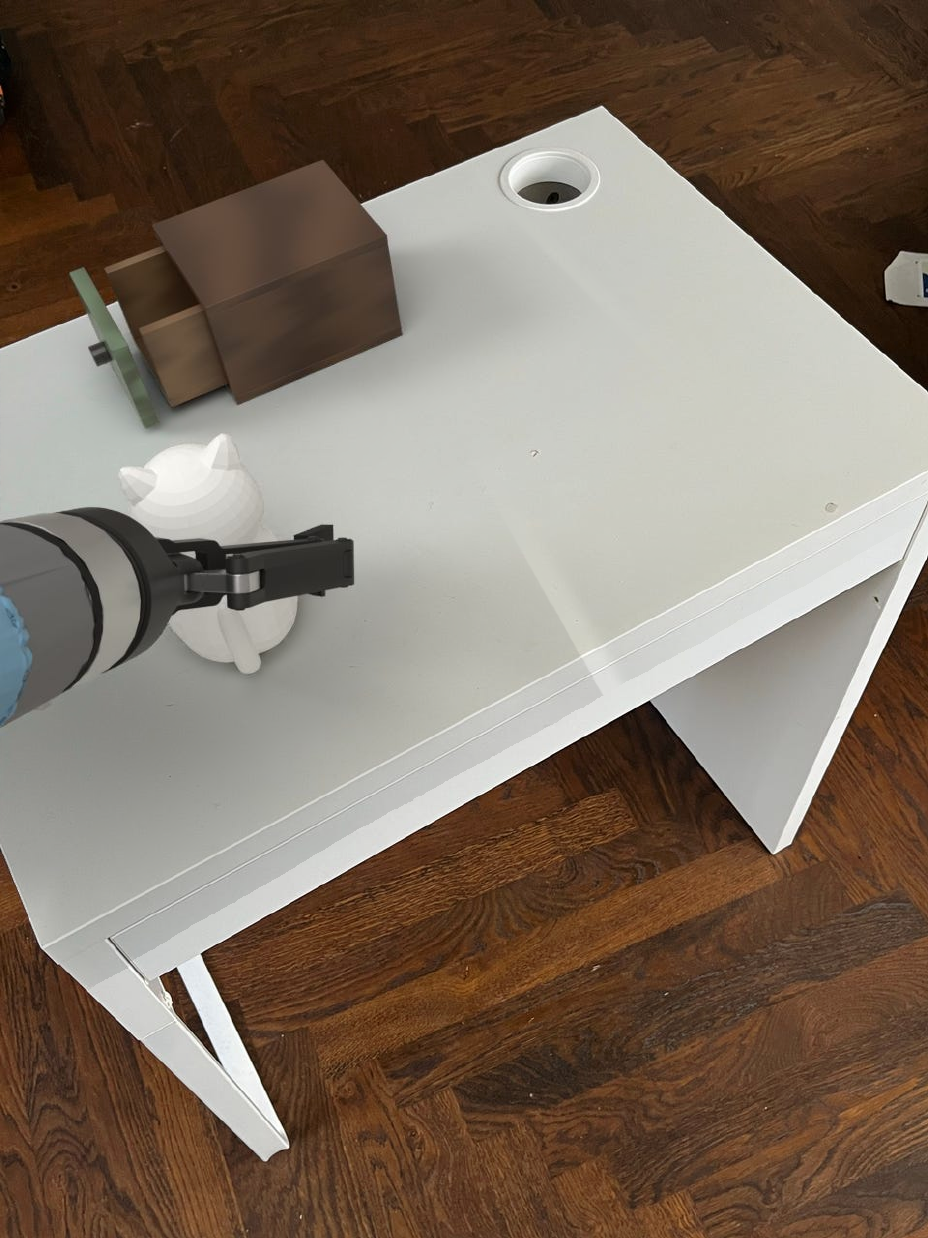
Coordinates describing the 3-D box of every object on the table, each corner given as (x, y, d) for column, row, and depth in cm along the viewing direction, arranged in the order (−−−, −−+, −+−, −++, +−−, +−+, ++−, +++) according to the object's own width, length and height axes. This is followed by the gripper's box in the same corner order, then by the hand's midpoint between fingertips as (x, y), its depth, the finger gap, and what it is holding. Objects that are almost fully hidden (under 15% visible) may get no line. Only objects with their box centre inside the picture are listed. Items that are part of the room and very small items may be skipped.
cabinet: (237, 405, 90) (205, 307, 82) (186, 322, 96) (151, 224, 88) (403, 334, 93) (387, 234, 85) (342, 258, 99) (322, 158, 91)
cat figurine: (280, 539, 82) (228, 383, 69) (335, 674, 75) (288, 527, 62) (159, 582, 80) (83, 431, 68) (203, 724, 73) (128, 584, 61)
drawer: (130, 434, 88) (95, 357, 81) (89, 356, 93) (53, 278, 87) (305, 361, 91) (284, 281, 84) (255, 289, 96) (232, 209, 90)
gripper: (-188, 673, 53) (34, 600, 74) (342, 688, 50) (419, 608, 71) (-205, 510, 52) (27, 482, 72) (339, 515, 49) (418, 485, 69)
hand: (221, 544), depth 72 cm, fingers open, 13 cm apart
